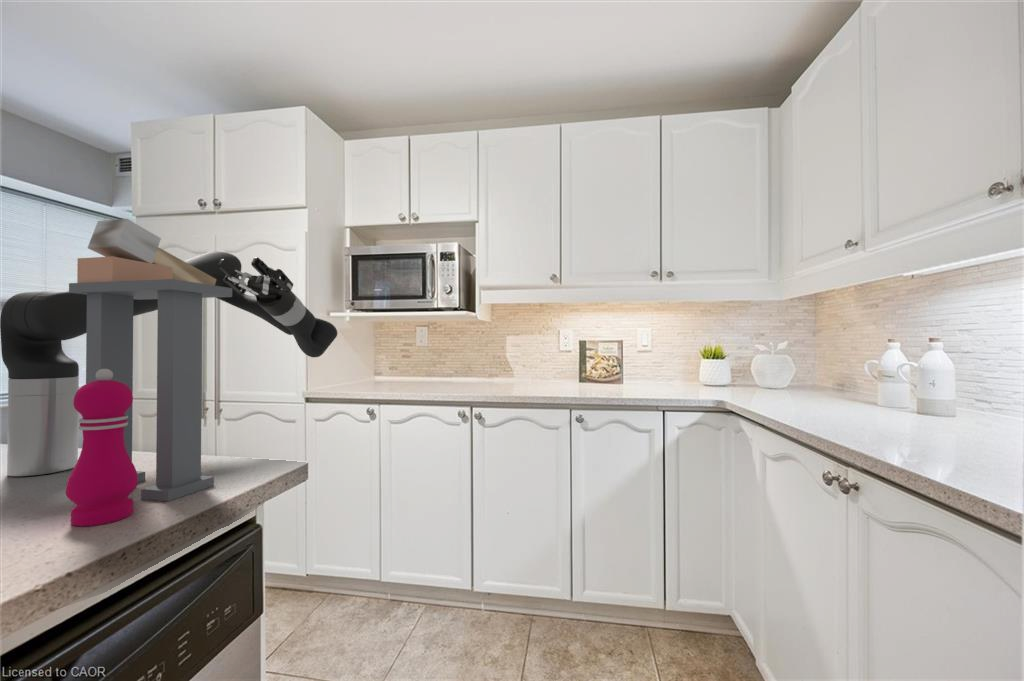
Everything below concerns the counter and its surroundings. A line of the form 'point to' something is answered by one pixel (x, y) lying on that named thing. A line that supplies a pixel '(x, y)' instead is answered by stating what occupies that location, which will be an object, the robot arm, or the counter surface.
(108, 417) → the pepper mill
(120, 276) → the base block
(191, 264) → the robot arm
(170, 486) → the shelf
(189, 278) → the mallet
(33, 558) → the counter surface
